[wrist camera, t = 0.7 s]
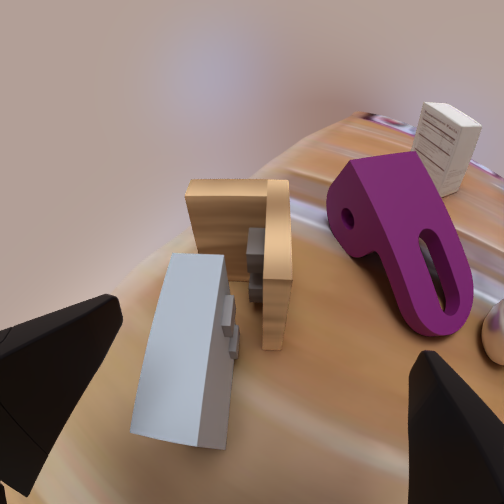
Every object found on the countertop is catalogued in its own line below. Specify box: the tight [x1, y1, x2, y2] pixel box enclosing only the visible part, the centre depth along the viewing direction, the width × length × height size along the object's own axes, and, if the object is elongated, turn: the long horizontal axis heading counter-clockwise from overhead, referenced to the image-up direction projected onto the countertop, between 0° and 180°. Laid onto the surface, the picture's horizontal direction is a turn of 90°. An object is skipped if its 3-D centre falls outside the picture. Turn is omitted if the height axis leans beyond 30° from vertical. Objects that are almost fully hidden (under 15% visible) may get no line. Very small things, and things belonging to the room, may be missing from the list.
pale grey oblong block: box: [130, 253, 240, 450], centre depth 16 cm, size 10×5×10 cm, turn 176°
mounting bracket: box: [326, 151, 473, 336], centre depth 26 cm, size 9×8×18 cm
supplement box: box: [411, 102, 482, 198], centre depth 33 cm, size 7×7×13 cm
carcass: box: [185, 179, 292, 350], centre depth 21 cm, size 9×7×10 cm
